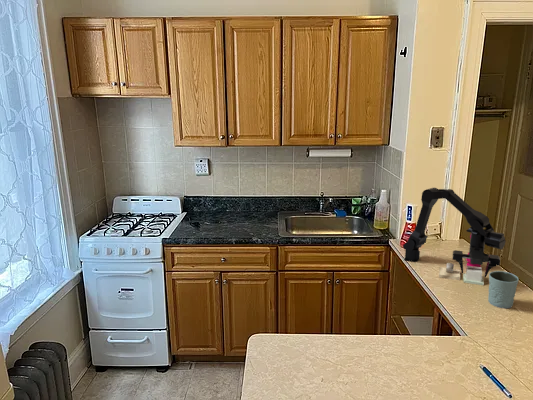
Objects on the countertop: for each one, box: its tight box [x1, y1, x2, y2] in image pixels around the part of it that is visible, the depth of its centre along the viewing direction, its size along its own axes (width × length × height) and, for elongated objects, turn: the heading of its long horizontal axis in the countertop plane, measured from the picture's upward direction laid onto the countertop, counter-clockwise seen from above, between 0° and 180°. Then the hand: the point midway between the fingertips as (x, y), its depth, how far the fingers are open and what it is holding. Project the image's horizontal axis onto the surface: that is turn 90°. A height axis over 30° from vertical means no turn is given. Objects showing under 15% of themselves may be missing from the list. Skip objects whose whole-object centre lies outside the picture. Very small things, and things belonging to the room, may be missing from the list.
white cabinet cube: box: [465, 266, 483, 282], centre depth 178 cm, size 6×6×5 cm
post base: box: [438, 262, 461, 281], centre depth 184 cm, size 9×9×6 cm
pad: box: [462, 272, 485, 286], centre depth 179 cm, size 8×8×1 cm
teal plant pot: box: [487, 270, 520, 309], centre depth 157 cm, size 10×10×12 cm
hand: (473, 275), depth 179 cm, fingers open, 9 cm apart
